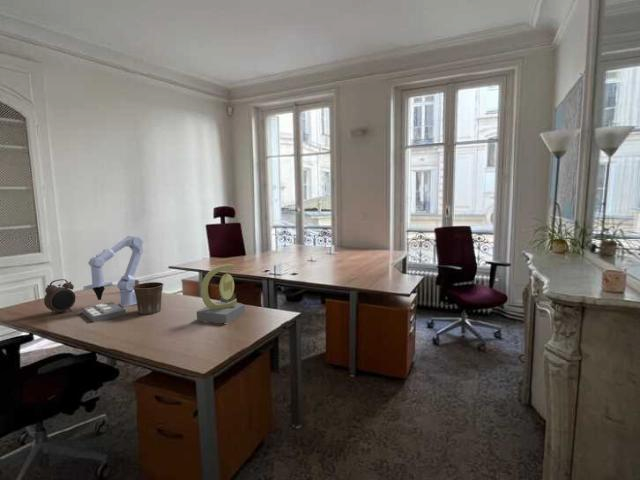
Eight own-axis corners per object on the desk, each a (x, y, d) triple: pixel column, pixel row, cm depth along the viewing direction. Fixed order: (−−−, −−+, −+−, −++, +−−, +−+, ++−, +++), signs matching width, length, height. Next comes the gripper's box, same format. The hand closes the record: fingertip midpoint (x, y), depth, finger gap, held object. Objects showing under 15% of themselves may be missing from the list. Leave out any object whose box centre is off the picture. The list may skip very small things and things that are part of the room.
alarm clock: (50, 317, 197) (47, 283, 195) (44, 315, 200) (41, 281, 198) (78, 310, 209) (75, 277, 207) (72, 308, 213) (69, 276, 211)
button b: (106, 309, 204) (105, 304, 204) (108, 310, 202) (107, 305, 201) (99, 311, 201) (98, 305, 201) (100, 312, 199) (100, 307, 198)
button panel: (112, 306, 216) (112, 301, 215) (126, 314, 199) (125, 309, 199) (82, 312, 204) (81, 307, 204) (94, 322, 188) (93, 316, 187)
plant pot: (170, 307, 213) (168, 282, 211) (155, 316, 197) (153, 288, 195) (145, 307, 214) (143, 281, 212) (128, 315, 198) (126, 288, 196)
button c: (110, 311, 199) (109, 306, 199) (112, 313, 197) (111, 307, 196) (102, 313, 197) (102, 308, 196) (104, 315, 194) (104, 309, 194)
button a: (102, 308, 209) (102, 303, 209) (104, 310, 206) (104, 304, 206) (95, 310, 206) (95, 305, 206) (97, 311, 204) (97, 306, 203)
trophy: (226, 324, 182) (224, 269, 179) (197, 321, 188) (194, 267, 185) (244, 313, 200) (242, 263, 197) (217, 310, 206) (215, 261, 202)
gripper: (85, 280, 196) (87, 303, 197) (113, 276, 206) (115, 298, 208) (81, 278, 201) (83, 301, 202) (109, 274, 211) (111, 296, 213)
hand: (99, 299), depth 205 cm, fingers closed
